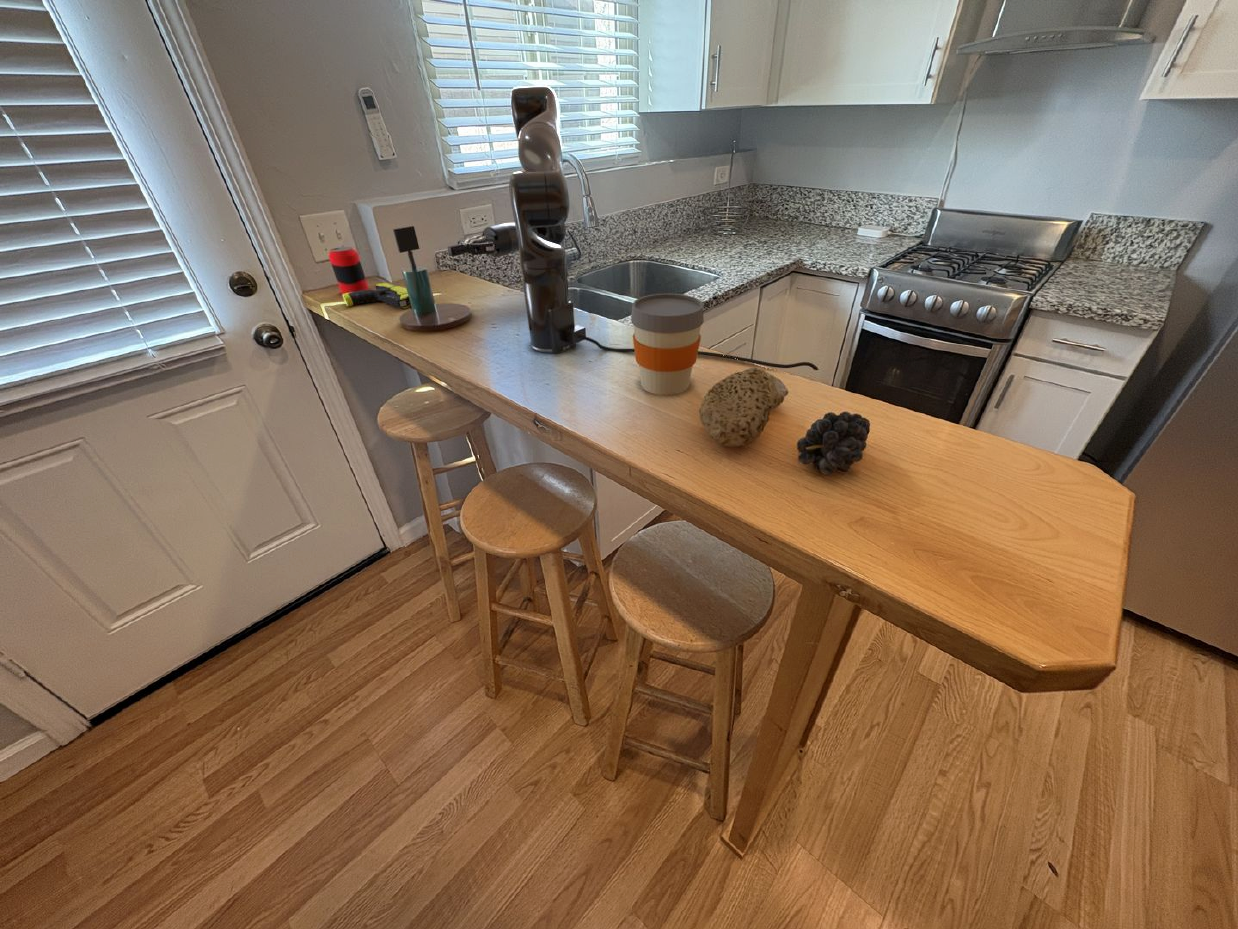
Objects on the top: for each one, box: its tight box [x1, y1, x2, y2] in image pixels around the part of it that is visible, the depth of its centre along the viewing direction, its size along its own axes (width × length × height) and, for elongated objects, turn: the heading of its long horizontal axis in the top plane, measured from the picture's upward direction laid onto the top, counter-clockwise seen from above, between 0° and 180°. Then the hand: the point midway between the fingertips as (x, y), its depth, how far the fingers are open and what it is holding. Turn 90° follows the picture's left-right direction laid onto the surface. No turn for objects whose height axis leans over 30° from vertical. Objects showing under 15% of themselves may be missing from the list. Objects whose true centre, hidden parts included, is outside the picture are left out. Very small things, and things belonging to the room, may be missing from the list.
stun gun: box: [341, 282, 411, 309], centre depth 135 cm, size 3×19×15 cm
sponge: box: [698, 367, 789, 448], centre depth 78 cm, size 13×8×20 cm
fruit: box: [796, 411, 871, 476], centre depth 69 cm, size 9×8×15 cm
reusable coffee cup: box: [630, 293, 704, 396], centre depth 87 cm, size 12×13×15 cm
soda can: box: [328, 246, 370, 295], centre depth 142 cm, size 8×8×12 cm
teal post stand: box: [392, 225, 472, 332], centre depth 117 cm, size 17×17×20 cm
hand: (449, 251), depth 123 cm, fingers closed
